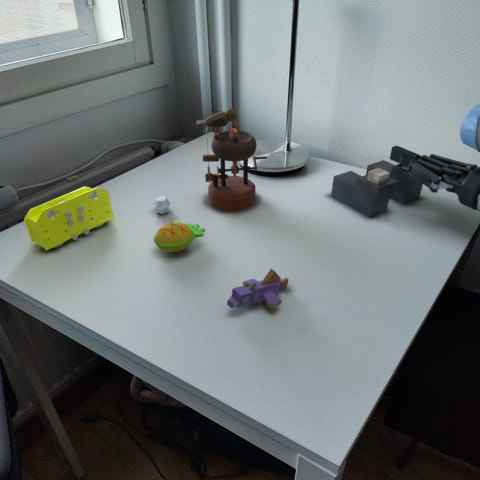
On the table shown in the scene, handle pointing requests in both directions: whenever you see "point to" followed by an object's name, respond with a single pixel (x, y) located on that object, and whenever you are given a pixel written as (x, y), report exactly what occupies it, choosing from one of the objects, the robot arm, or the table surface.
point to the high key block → (363, 192)
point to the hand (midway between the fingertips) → (393, 152)
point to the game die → (161, 205)
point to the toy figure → (259, 291)
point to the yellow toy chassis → (68, 216)
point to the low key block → (400, 181)
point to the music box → (231, 149)
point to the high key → (378, 176)
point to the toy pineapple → (177, 236)
